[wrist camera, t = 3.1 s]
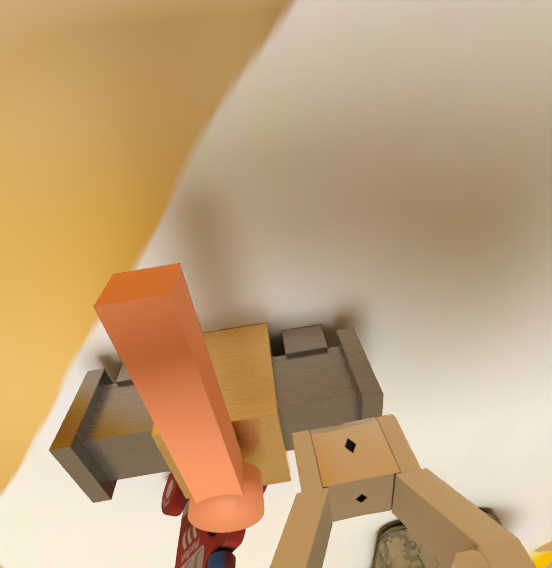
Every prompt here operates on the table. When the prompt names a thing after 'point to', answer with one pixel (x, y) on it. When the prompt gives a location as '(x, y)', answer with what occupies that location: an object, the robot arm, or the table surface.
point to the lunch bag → (405, 550)
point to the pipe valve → (239, 401)
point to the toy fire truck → (199, 535)
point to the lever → (182, 393)
